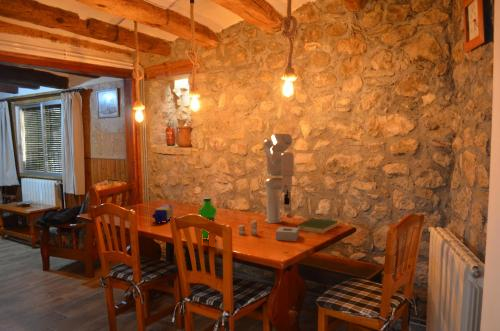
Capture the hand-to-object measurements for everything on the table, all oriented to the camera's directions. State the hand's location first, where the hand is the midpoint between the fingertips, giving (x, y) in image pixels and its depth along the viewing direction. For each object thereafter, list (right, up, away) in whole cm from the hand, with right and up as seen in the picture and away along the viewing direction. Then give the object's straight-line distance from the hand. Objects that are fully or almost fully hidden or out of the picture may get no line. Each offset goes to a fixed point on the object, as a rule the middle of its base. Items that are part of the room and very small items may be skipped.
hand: (287, 203), depth 225 cm
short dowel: (-28, -20, +13) cm, 37 cm away
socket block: (0, -21, +2) cm, 21 cm away
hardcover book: (+23, -20, +25) cm, 39 cm away
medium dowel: (-20, -21, +10) cm, 31 cm away
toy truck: (-87, -19, +54) cm, 104 cm away
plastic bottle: (-48, -22, +1) cm, 53 cm away
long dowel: (0, -5, 0) cm, 5 cm away
